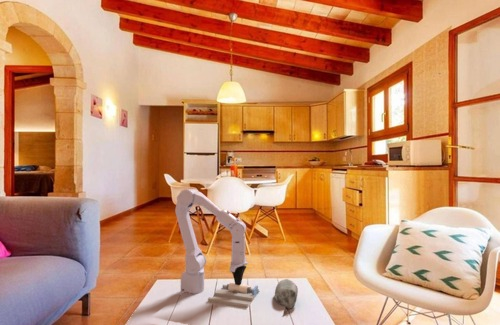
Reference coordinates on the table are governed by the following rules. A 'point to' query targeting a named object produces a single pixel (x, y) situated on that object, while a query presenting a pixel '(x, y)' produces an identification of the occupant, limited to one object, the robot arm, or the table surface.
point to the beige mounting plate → (233, 298)
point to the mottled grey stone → (286, 293)
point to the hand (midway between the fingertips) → (238, 284)
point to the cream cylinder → (239, 288)
